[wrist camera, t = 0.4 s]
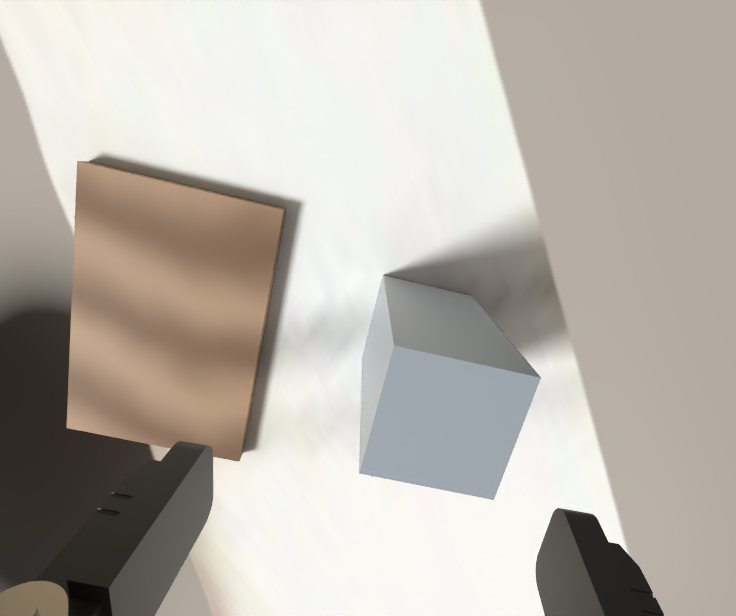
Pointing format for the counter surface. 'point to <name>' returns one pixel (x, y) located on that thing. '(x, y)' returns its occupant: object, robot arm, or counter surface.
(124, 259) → the walnut board
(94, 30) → the counter surface
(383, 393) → the tall pale blue block
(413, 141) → the counter surface
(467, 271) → the counter surface
